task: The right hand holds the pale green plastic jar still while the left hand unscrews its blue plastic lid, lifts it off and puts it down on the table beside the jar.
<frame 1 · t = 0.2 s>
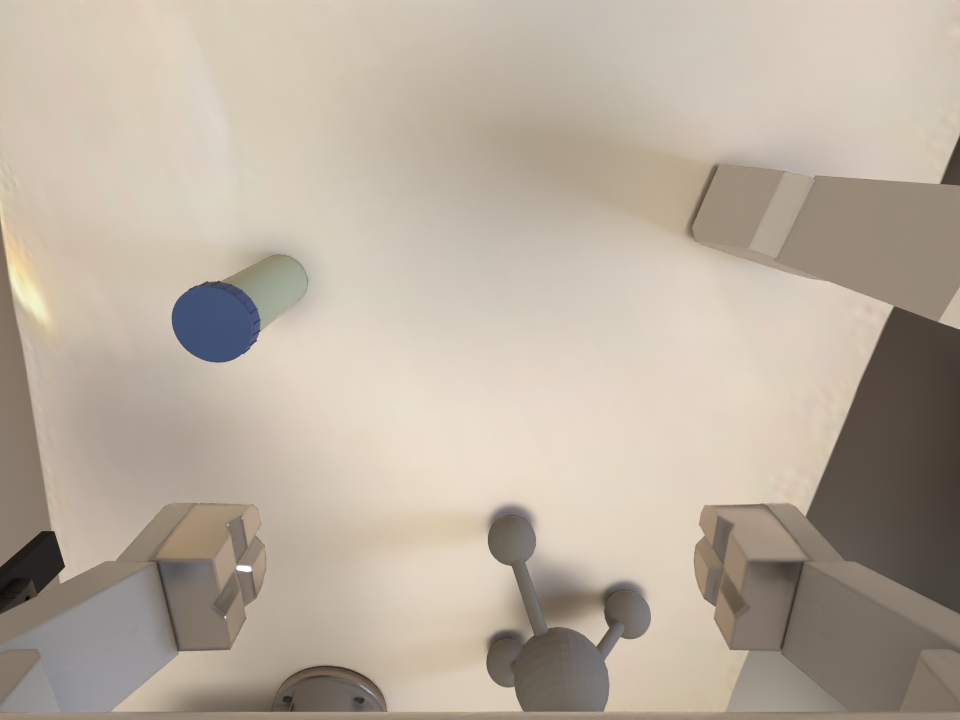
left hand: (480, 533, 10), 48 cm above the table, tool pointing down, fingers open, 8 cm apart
lid: (213, 324, 43), point 16 cm above the table, screwed on, not yet turned
molecular model: (537, 598, 72), on the table
electronic device: (755, 219, 55), on the table
jar: (282, 279, 57), on the table
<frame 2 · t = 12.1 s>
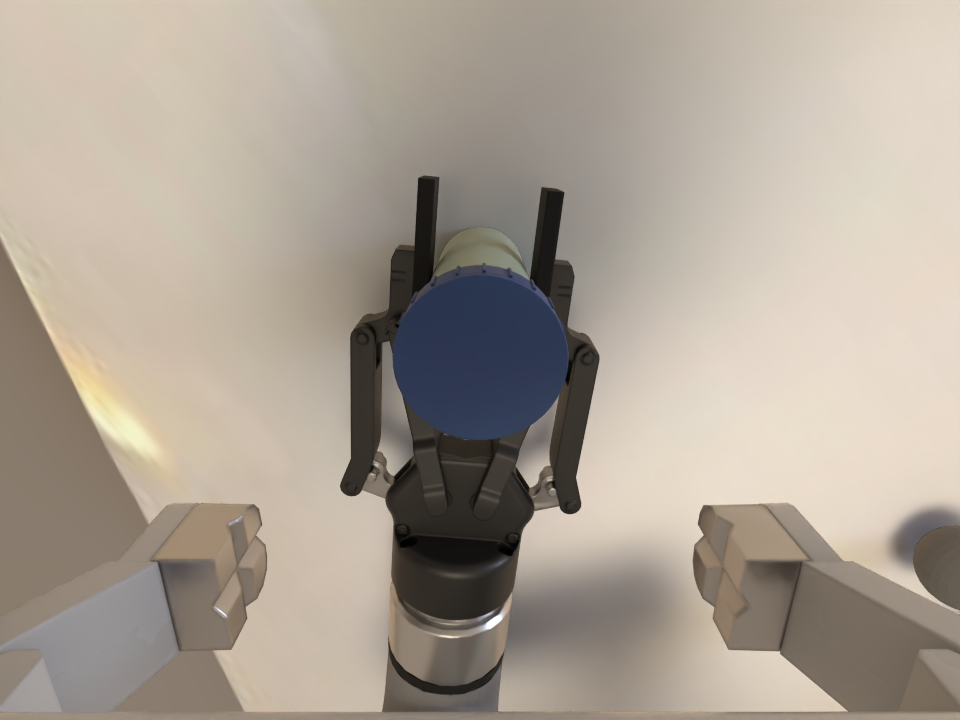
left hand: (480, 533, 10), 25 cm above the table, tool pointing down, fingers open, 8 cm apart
right hand: (490, 184, 26), fingers closed on jar, 5 cm apart
lid: (480, 358, 19), point 16 cm above the table, screwed on, not yet turned
jar: (480, 269, 34), on the table, touching right hand
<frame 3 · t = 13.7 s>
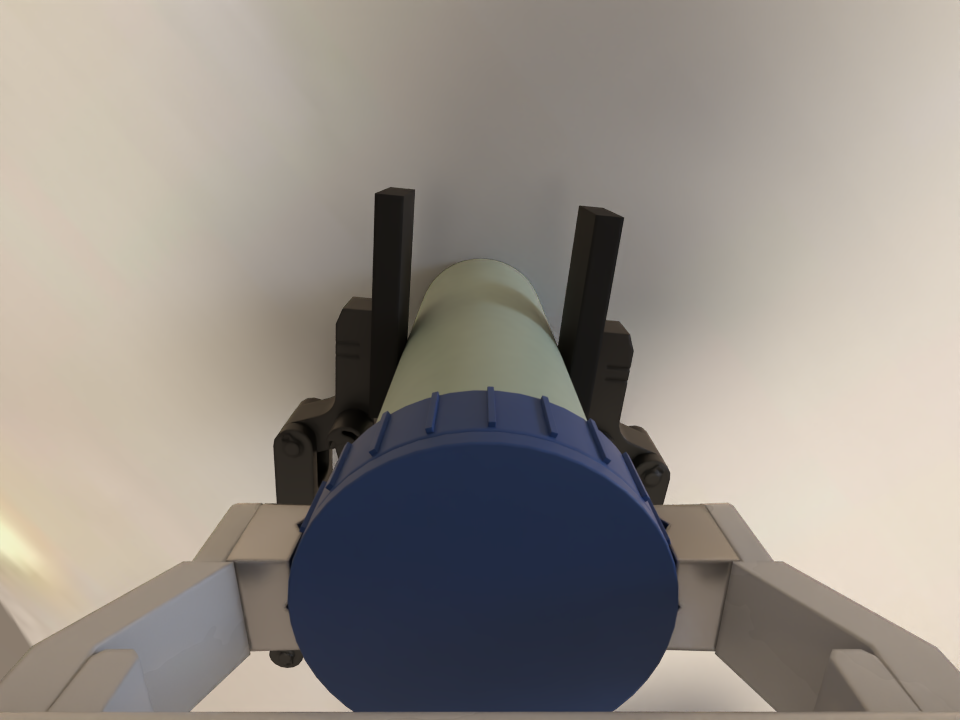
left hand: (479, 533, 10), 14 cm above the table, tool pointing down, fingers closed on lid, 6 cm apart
lid: (482, 598, 9), point 16 cm above the table, screwed on, not yet turned, touching left hand
jar: (480, 318, 24), on the table, touching right hand
when the left hand's fingers open (14 cm above the table, at t = 15.1 s): lid stays where it is, point 16 cm above the table.
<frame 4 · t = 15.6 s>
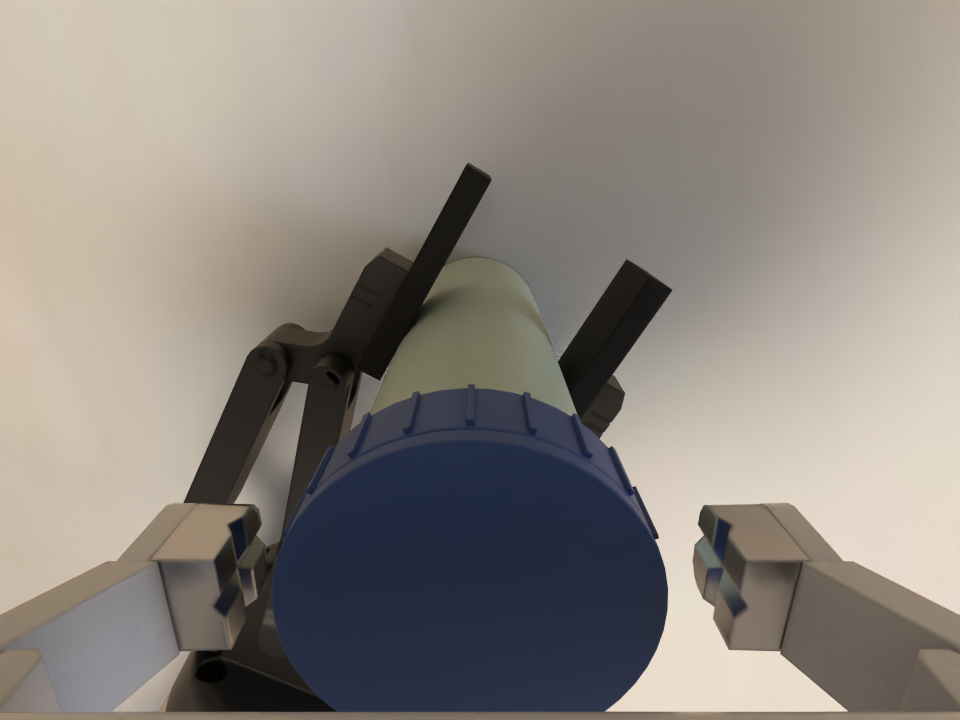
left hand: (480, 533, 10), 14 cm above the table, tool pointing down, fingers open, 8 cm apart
lid: (470, 598, 9), point 16 cm above the table, turned 61° so far, risen 0.1 cm, still on its thread
jar: (476, 317, 24), on the table, touching right hand
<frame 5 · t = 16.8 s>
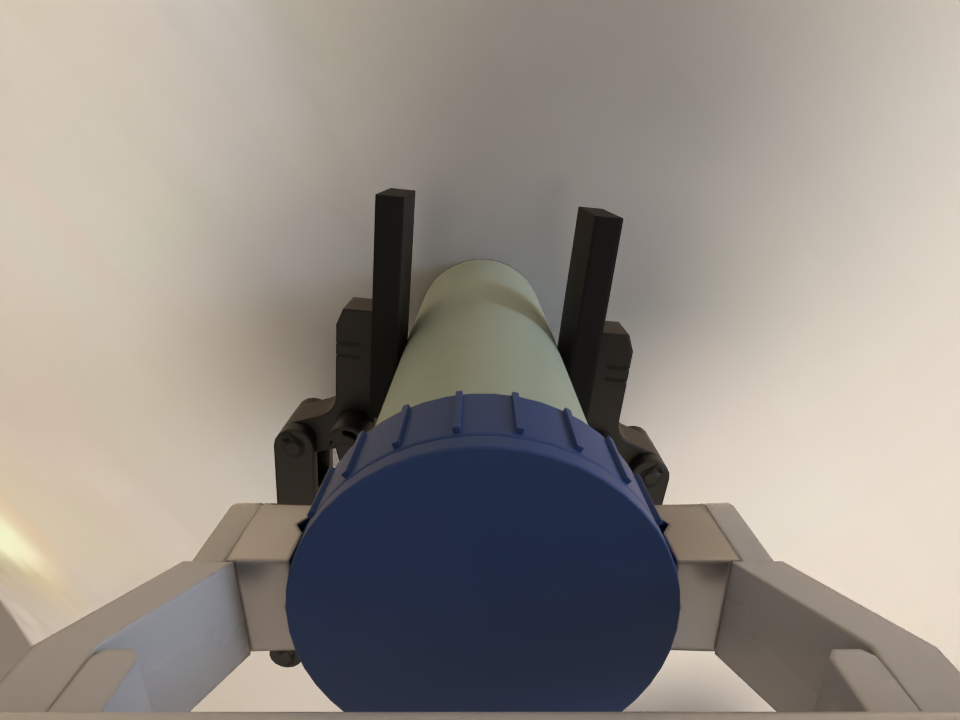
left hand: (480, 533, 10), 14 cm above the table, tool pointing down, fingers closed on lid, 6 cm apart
lid: (482, 603, 9), point 16 cm above the table, turned 61° so far, risen 0.1 cm, still on its thread, touching left hand
jar: (480, 319, 24), on the table, touching right hand
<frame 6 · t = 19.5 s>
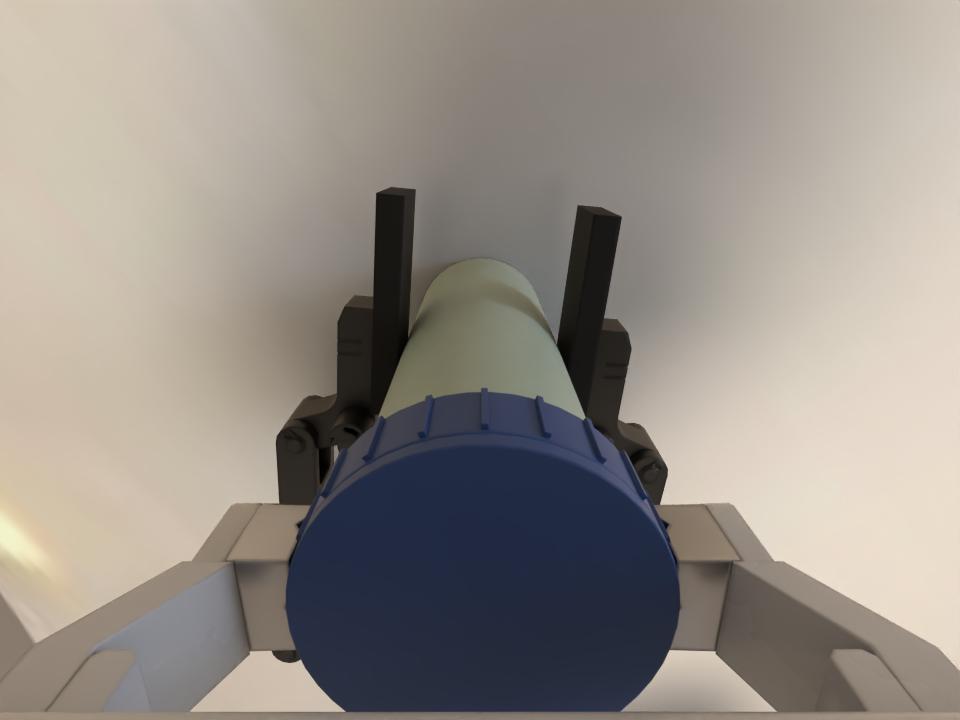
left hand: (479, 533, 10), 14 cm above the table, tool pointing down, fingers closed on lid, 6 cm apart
lid: (482, 602, 9), point 16 cm above the table, turned 122° so far, risen 0.3 cm, still on its thread, touching left hand
jar: (480, 317, 24), on the table, touching right hand
when the left hand's fingers open (2 cm above the table, at t = 25.7 s): lid drops 2 cm, point 1 cm above the table.
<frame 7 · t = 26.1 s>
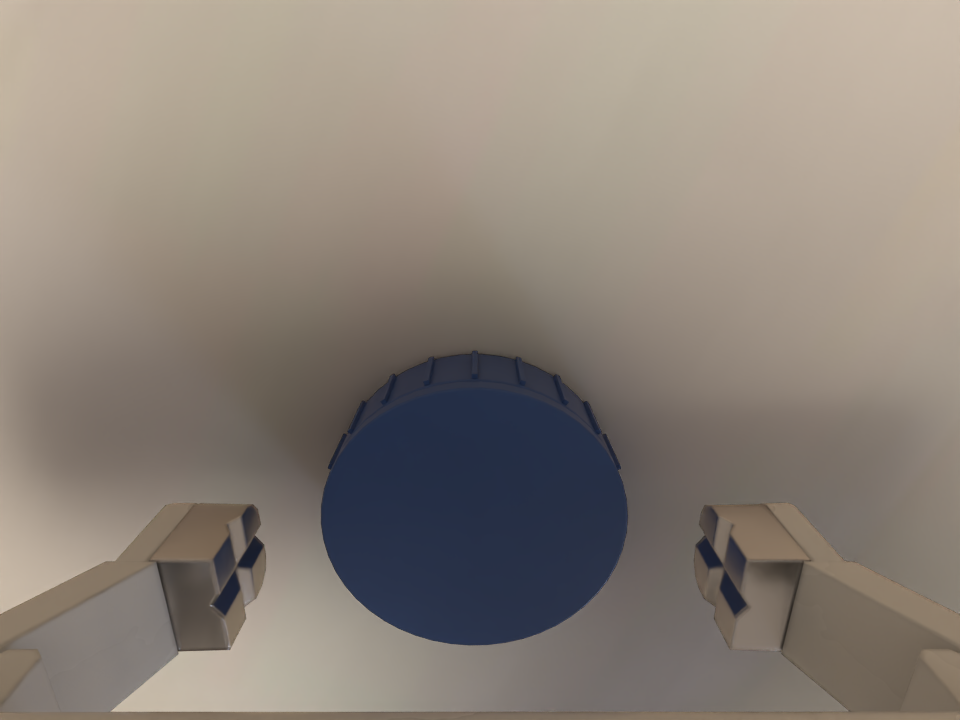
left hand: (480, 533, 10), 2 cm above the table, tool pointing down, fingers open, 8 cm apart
lid: (474, 518, 11), point 1 cm above the table, off its thread
when the right hand's fingers open (6 cm above the table, at t = 26.6 s): jar stays where it is, on the table.
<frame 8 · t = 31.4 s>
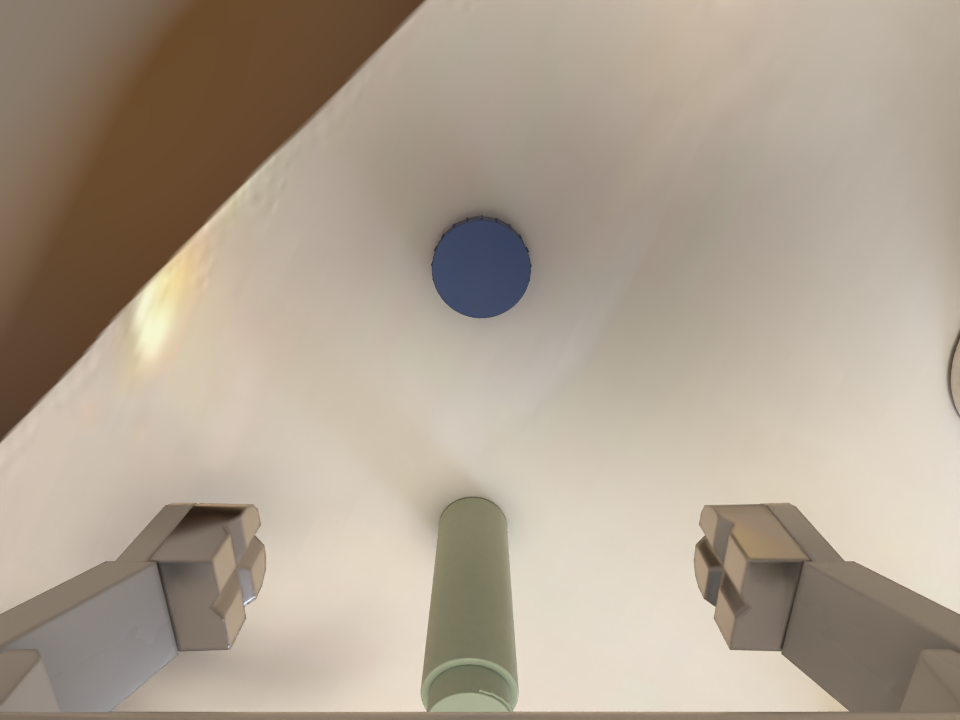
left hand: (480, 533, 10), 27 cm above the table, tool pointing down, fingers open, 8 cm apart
lid: (481, 269, 34), point 1 cm above the table, off its thread
jar: (473, 525, 42), on the table
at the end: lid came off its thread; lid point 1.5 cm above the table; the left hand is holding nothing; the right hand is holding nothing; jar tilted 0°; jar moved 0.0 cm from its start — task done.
